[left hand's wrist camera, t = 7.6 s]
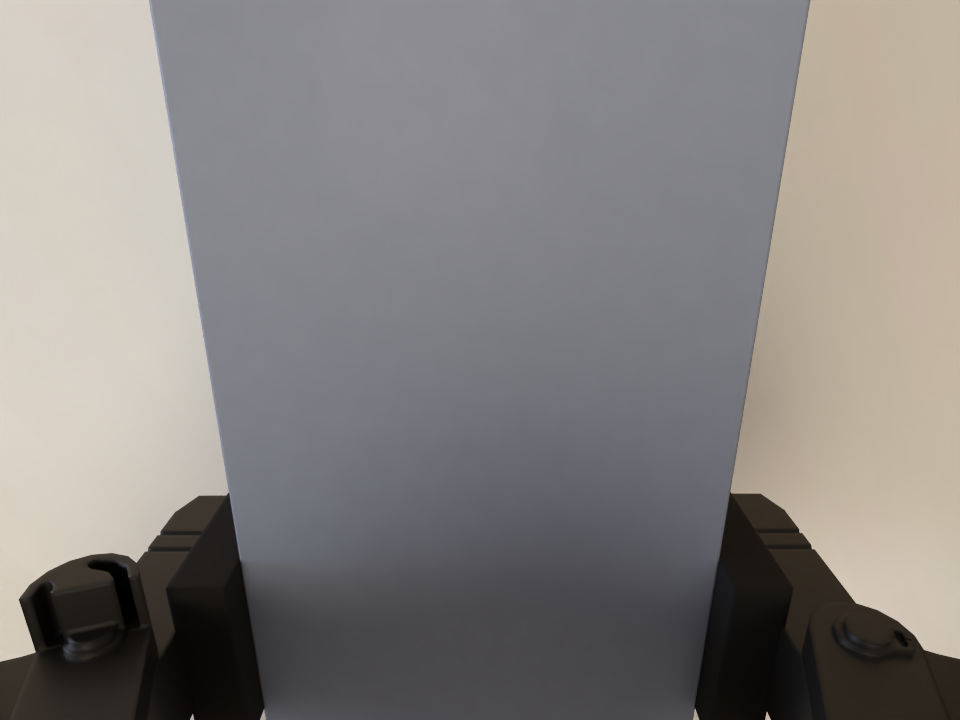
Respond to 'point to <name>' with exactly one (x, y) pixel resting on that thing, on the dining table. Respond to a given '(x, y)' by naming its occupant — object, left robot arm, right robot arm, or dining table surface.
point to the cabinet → (479, 334)
